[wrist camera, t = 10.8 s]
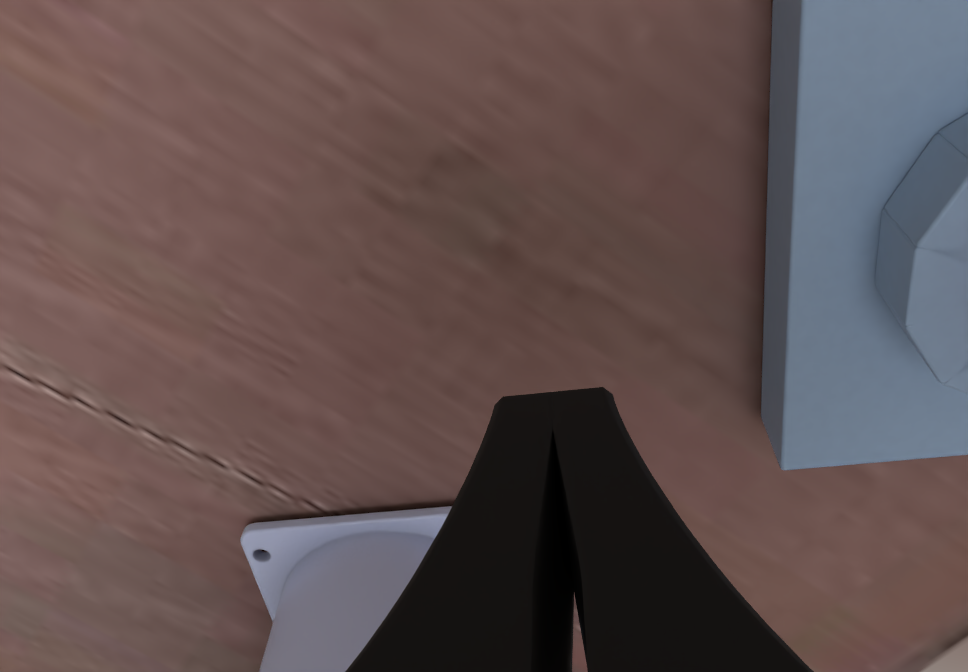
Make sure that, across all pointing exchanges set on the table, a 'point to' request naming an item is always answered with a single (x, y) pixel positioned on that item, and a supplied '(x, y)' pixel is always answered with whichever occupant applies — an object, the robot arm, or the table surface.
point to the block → (867, 232)
